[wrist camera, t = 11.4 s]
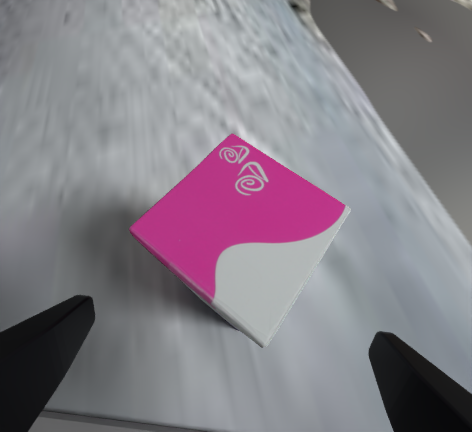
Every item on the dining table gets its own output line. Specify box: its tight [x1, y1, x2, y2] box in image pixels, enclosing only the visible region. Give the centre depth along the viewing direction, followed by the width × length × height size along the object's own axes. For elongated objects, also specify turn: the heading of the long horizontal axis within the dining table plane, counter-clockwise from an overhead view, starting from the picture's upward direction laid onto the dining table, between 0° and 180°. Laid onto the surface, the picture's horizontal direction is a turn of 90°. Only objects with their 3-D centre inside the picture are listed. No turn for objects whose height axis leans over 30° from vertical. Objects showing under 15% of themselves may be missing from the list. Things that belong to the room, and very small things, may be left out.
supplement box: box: [129, 134, 351, 348], centre depth 13 cm, size 6×6×12 cm
